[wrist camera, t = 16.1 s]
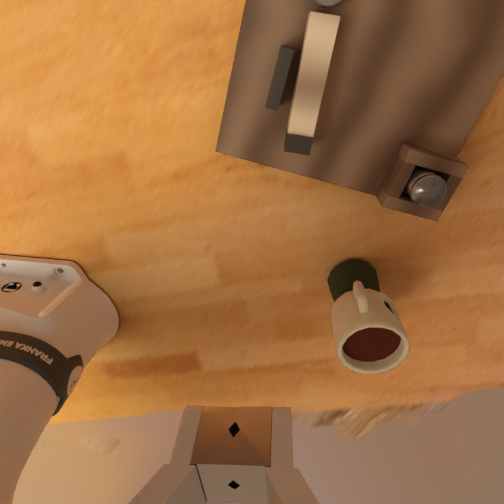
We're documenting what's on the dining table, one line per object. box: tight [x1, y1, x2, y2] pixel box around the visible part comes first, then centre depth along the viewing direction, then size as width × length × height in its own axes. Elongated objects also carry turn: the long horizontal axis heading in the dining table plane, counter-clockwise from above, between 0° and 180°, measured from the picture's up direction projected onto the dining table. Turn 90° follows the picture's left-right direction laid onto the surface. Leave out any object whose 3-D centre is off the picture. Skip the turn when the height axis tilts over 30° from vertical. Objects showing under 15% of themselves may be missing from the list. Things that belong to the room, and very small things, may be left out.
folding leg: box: [284, 0, 341, 156], centre depth 31 cm, size 14×3×3 cm, turn 172°
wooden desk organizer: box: [216, 0, 504, 221], centre depth 32 cm, size 24×22×5 cm
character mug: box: [328, 260, 410, 374], centre depth 41 cm, size 11×7×13 cm, turn 16°
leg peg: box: [404, 165, 447, 208], centre depth 35 cm, size 3×3×4 cm
